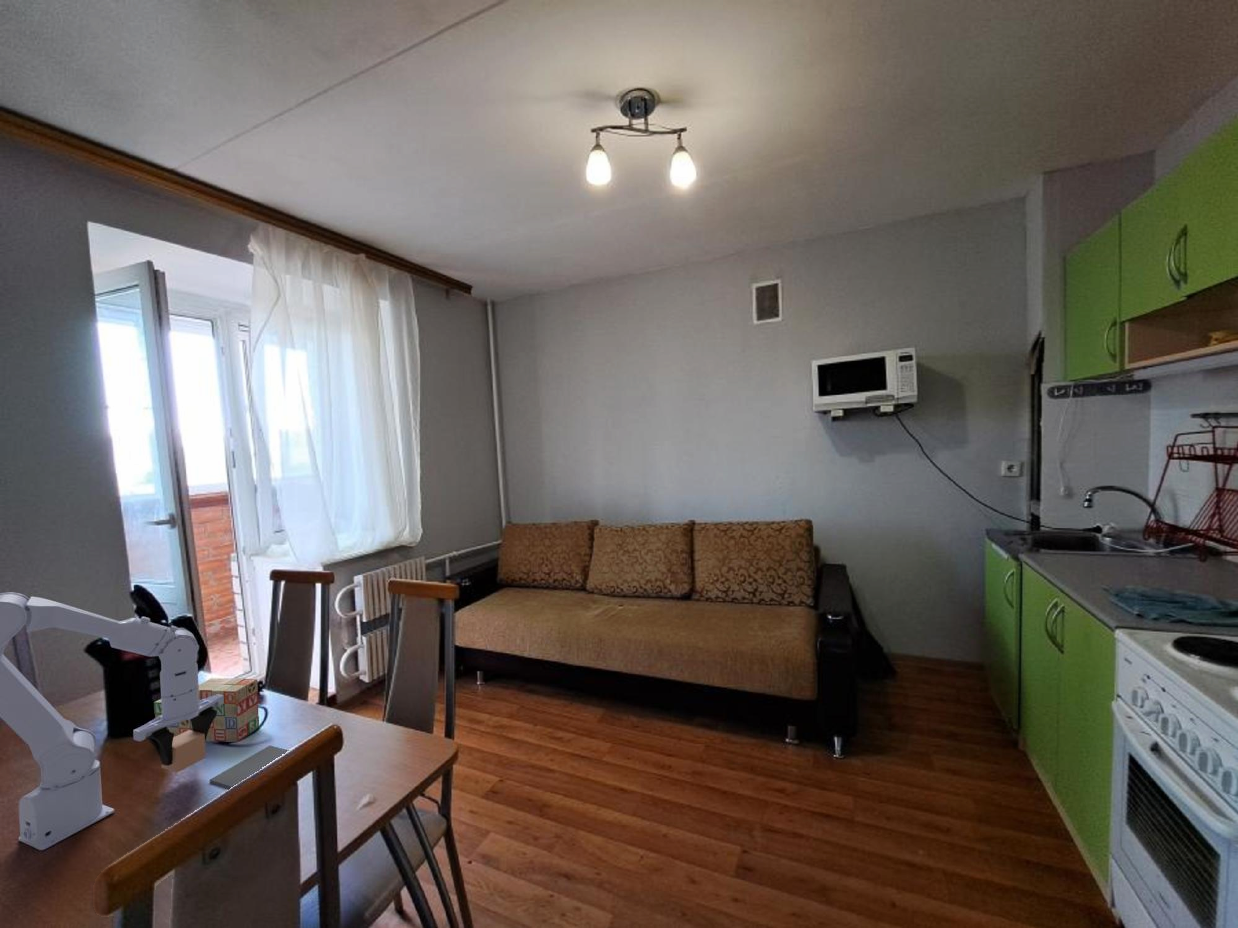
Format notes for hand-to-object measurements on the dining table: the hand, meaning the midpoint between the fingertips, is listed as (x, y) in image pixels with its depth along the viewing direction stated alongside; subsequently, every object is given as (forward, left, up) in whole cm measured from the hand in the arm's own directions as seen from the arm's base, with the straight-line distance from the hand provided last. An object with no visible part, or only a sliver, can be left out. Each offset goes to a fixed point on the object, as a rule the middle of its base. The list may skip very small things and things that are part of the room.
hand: (183, 755), depth 99 cm
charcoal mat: (+7, -12, -5) cm, 15 cm away
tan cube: (0, 0, -1) cm, 1 cm away
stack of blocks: (+13, +15, -6) cm, 21 cm away
